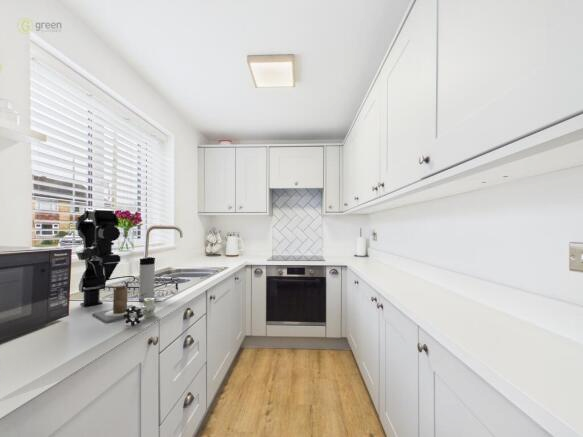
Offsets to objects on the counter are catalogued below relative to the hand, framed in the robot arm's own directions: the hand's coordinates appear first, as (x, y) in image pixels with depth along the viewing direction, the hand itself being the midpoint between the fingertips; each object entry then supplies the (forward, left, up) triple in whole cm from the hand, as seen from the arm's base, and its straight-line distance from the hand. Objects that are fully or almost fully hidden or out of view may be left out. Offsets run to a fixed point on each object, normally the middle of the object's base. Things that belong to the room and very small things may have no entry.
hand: (102, 278), depth 109 cm
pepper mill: (+10, +3, -12) cm, 16 cm away
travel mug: (-3, +19, -13) cm, 23 cm away
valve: (+23, +5, -13) cm, 27 cm away
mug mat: (+10, +3, -13) cm, 17 cm away
